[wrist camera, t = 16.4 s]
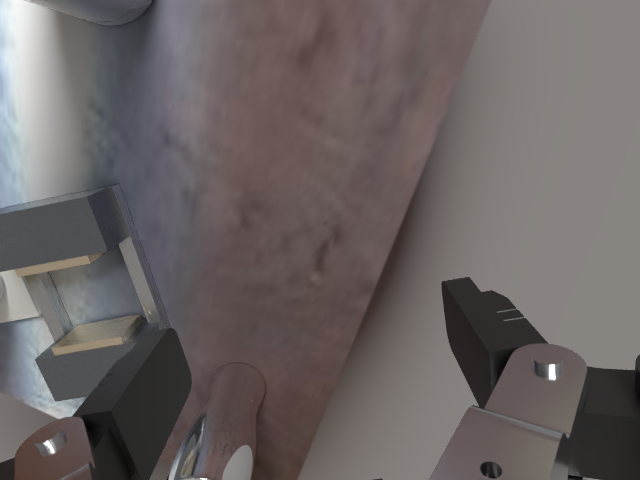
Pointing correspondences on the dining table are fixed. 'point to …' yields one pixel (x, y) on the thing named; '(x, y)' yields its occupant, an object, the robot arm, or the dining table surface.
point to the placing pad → (16, 298)
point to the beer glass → (223, 429)
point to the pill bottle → (1, 288)
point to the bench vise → (69, 251)
